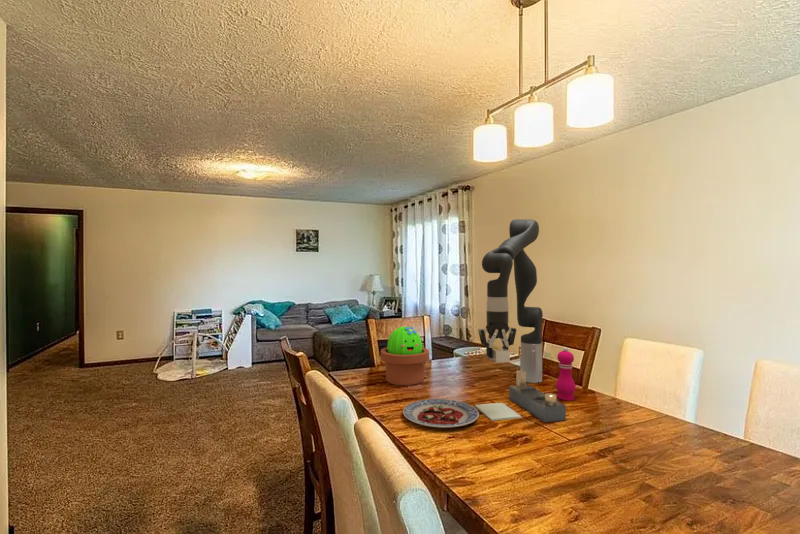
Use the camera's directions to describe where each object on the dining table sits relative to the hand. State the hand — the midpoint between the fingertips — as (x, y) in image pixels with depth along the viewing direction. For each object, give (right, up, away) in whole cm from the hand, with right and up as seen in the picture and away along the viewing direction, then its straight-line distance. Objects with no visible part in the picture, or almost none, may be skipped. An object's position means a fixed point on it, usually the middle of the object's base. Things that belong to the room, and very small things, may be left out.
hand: (497, 357), depth 140 cm
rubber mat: (0, -19, 0) cm, 19 cm away
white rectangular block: (0, -1, 0) cm, 1 cm away
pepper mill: (+30, -20, +15) cm, 39 cm away
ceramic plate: (-21, -20, -4) cm, 29 cm away
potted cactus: (-32, -20, +40) cm, 55 cm away
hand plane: (+15, -19, +3) cm, 24 cm away
